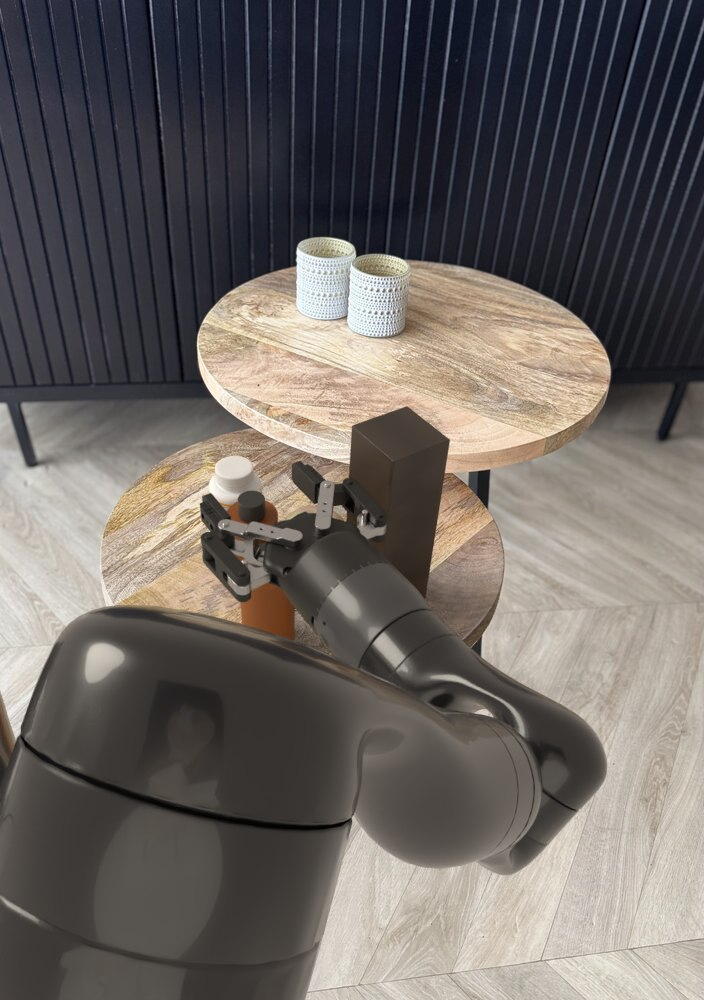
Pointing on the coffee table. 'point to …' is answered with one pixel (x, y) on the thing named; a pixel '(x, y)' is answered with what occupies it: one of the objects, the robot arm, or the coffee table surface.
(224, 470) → the supplement bottle
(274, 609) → the amber bottle
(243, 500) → the amber bottle
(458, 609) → the coffee table surface
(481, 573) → the coffee table surface
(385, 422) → the pedestal
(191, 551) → the coffee table surface
